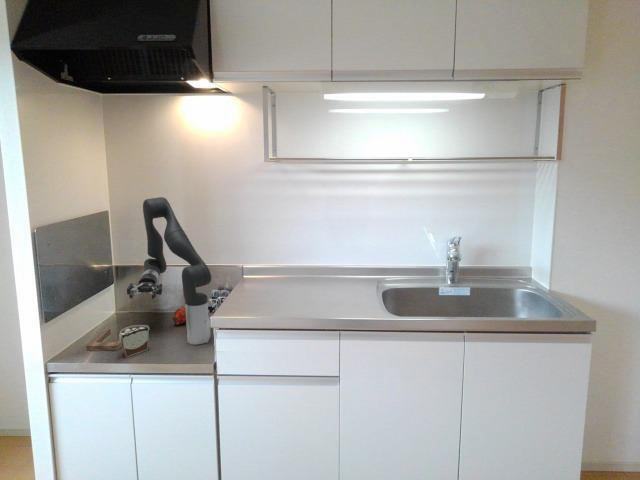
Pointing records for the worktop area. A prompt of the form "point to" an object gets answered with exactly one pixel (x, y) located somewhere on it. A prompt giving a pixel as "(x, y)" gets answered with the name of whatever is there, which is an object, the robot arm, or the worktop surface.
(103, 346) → the notched board
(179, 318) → the dragon fruit
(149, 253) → the robot arm
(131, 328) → the food container
